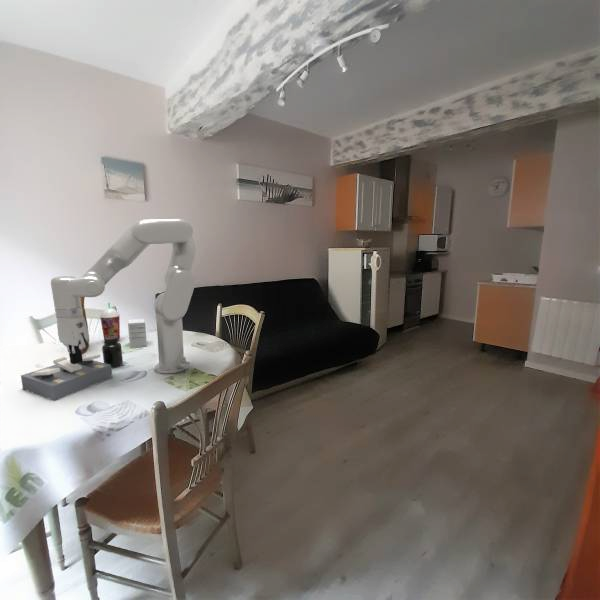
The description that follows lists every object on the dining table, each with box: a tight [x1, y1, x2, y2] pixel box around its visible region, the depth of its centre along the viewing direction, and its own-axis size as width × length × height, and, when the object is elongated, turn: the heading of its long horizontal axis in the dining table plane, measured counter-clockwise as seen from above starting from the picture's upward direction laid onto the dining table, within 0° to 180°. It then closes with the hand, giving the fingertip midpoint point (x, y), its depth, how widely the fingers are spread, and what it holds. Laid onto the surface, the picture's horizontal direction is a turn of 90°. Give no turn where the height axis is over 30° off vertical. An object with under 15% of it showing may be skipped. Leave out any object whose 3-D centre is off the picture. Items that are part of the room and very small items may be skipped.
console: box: [20, 359, 113, 401], centre depth 116 cm, size 18×20×6 cm
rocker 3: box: [82, 354, 101, 361], centre depth 122 cm, size 10×4×1 cm, turn 66°
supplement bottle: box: [101, 336, 124, 369], centre depth 132 cm, size 7×7×12 cm
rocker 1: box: [31, 367, 60, 376], centre depth 109 cm, size 10×4×1 cm, turn 66°
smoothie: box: [99, 302, 121, 342], centre depth 160 cm, size 8×8×20 cm
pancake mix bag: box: [80, 297, 90, 355], centre depth 147 cm, size 7×19×28 cm, turn 25°
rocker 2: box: [53, 356, 82, 372], centre depth 115 cm, size 10×4×1 cm, turn 66°
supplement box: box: [127, 318, 148, 349], centre depth 156 cm, size 7×7×13 cm
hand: (76, 362), depth 114 cm, fingers closed
